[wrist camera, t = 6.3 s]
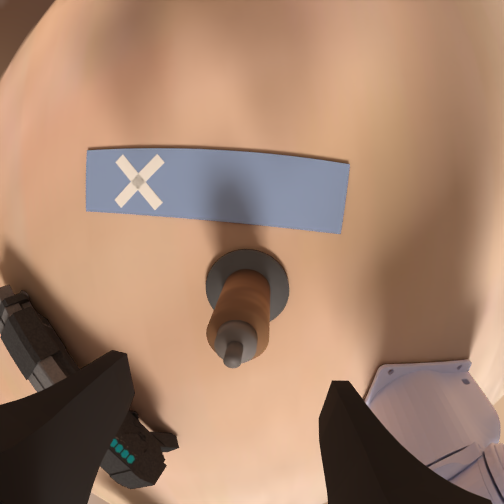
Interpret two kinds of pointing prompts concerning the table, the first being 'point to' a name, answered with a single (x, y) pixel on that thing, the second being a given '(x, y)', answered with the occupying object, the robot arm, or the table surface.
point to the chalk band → (219, 186)
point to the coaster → (253, 262)
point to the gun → (62, 365)
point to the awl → (241, 318)
